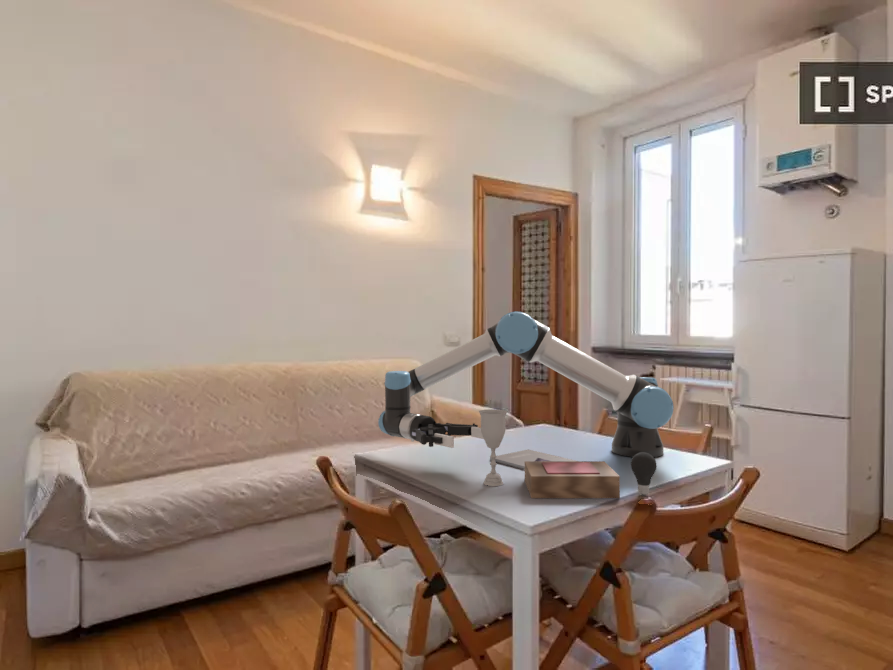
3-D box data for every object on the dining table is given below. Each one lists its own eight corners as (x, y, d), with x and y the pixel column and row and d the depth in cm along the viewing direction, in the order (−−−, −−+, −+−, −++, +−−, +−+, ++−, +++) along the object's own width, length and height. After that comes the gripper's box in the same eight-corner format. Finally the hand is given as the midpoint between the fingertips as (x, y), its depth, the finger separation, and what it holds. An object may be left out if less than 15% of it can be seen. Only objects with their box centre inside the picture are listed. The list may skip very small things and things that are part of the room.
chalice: (513, 483, 140) (512, 411, 140) (497, 489, 135) (496, 414, 135) (490, 477, 145) (489, 408, 145) (473, 483, 140) (472, 411, 139)
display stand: (604, 481, 141) (604, 460, 141) (619, 498, 127) (619, 475, 127) (524, 481, 142) (524, 460, 142) (531, 498, 128) (531, 474, 128)
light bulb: (638, 500, 126) (638, 455, 125) (626, 492, 131) (626, 450, 131) (661, 498, 126) (661, 454, 126) (648, 491, 132) (648, 449, 132)
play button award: (528, 449, 173) (580, 461, 158) (528, 454, 173) (580, 467, 158) (490, 457, 163) (542, 471, 148) (490, 462, 163) (542, 476, 148)
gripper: (450, 434, 169) (503, 445, 153) (383, 447, 152) (436, 461, 136) (450, 410, 169) (503, 418, 153) (383, 420, 152) (435, 430, 136)
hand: (471, 438), depth 145 cm, fingers open, 13 cm apart
